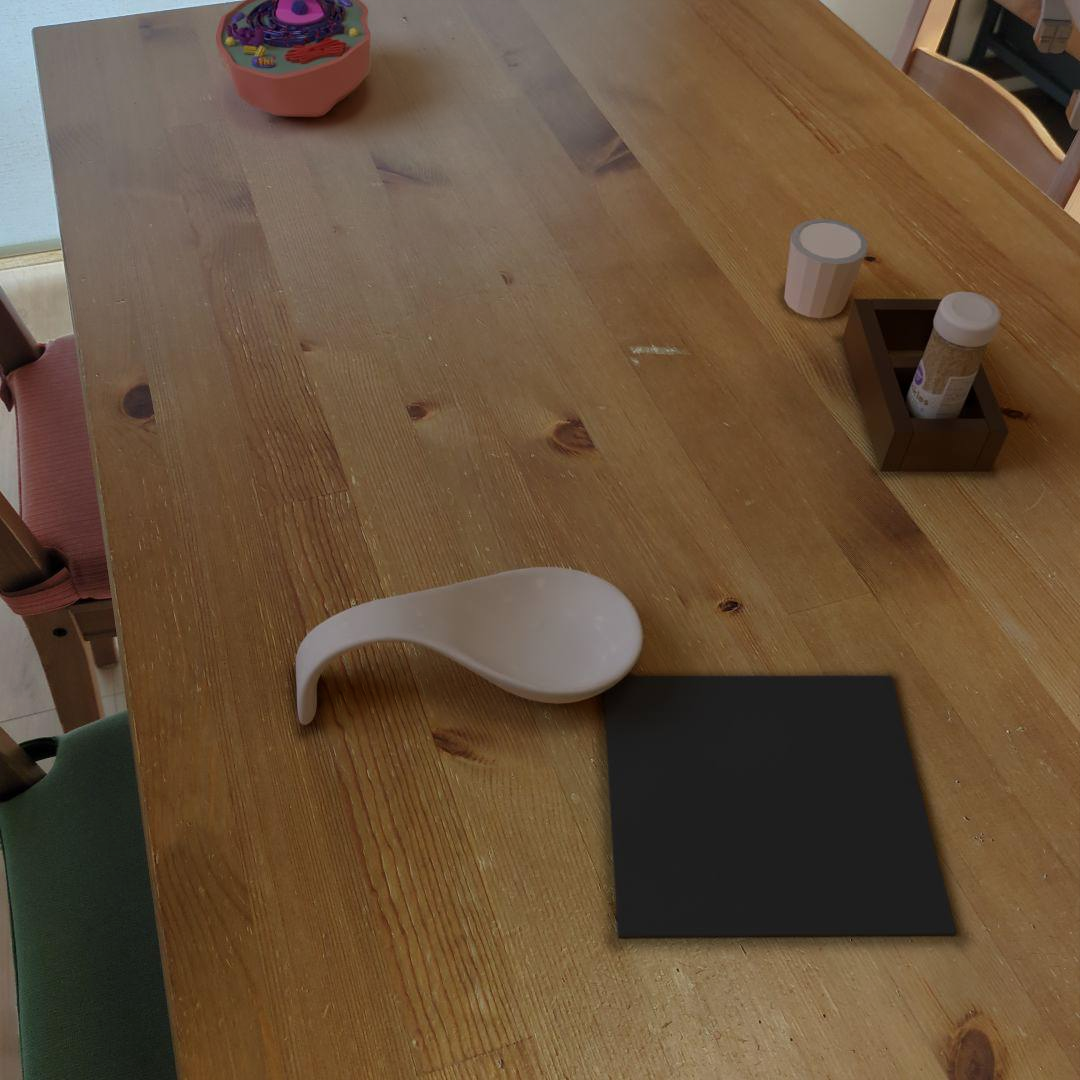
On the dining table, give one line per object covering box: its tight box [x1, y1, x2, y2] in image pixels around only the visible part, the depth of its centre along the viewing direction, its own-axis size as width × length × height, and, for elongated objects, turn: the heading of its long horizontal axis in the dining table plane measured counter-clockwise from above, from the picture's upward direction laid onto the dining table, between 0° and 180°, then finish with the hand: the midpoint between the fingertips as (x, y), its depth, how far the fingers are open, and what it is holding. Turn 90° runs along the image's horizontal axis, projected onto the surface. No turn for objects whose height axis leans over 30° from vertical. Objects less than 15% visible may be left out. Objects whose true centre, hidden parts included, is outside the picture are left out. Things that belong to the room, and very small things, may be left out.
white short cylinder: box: [784, 218, 869, 319], centre depth 102 cm, size 7×7×7 cm
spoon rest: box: [295, 566, 644, 726], centre depth 74 cm, size 24×12×7 cm, turn 102°
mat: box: [603, 675, 958, 939], centre depth 71 cm, size 20×18×1 cm
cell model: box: [215, 0, 372, 118], centre depth 122 cm, size 17×20×11 cm
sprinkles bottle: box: [905, 291, 1002, 419], centre depth 88 cm, size 5×5×14 cm
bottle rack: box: [841, 298, 1010, 473], centre depth 94 cm, size 9×16×5 cm, turn 1°
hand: (1063, 84), depth 69 cm, fingers open, 8 cm apart
